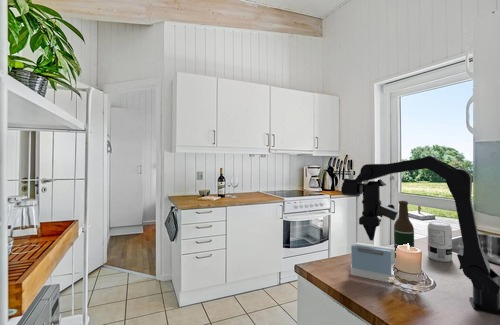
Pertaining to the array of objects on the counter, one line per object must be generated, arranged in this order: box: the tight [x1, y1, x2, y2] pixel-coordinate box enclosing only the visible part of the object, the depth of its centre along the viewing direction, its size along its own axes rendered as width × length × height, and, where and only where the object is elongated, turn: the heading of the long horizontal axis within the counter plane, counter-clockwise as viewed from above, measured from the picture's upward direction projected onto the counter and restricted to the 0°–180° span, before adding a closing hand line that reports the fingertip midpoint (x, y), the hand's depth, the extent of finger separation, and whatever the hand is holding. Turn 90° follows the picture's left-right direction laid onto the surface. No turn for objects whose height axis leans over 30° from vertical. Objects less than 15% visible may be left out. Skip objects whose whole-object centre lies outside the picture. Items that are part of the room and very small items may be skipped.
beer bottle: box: [393, 200, 415, 251], centre depth 111 cm, size 8×8×24 cm
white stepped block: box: [350, 242, 396, 283], centre depth 95 cm, size 14×14×8 cm
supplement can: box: [427, 221, 453, 263], centre depth 106 cm, size 8×8×15 cm
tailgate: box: [351, 244, 391, 275], centre depth 88 cm, size 2×13×8 cm, turn 58°
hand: (371, 239), depth 93 cm, fingers closed
